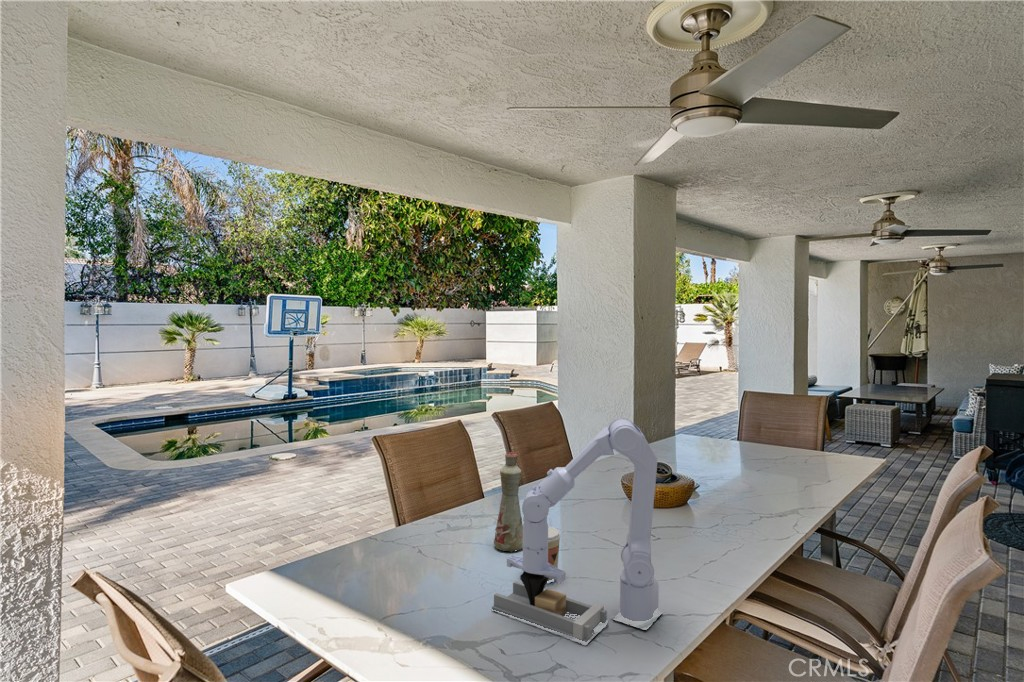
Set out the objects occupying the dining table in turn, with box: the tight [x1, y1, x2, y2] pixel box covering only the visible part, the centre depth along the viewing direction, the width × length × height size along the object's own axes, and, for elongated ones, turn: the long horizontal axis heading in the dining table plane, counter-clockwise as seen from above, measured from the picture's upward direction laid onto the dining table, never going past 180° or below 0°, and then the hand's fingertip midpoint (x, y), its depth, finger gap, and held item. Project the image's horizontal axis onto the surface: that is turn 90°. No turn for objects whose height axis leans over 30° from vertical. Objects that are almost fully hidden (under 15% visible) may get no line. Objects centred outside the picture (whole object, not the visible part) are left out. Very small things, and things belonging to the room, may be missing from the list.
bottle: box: [493, 451, 523, 552], centre depth 166 cm, size 9×9×28 cm
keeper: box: [535, 588, 567, 616], centre depth 127 cm, size 5×5×4 cm
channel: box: [491, 580, 608, 642], centre depth 127 cm, size 10×24×4 cm, turn 55°
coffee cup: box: [548, 525, 561, 581], centre depth 147 cm, size 9×9×12 cm
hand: (535, 604), depth 129 cm, fingers closed
